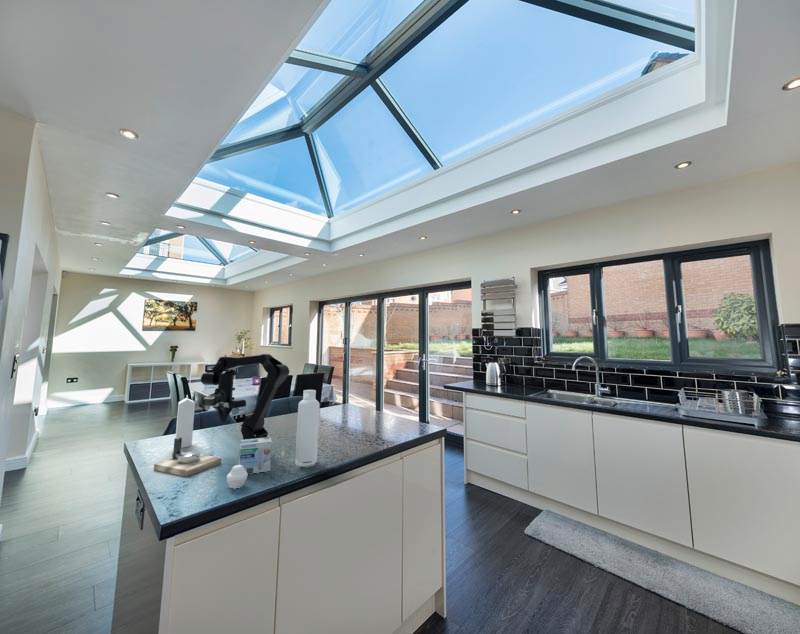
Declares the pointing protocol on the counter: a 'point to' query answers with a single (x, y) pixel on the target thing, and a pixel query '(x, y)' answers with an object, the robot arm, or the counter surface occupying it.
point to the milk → (185, 421)
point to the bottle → (307, 429)
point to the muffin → (237, 476)
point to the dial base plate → (187, 465)
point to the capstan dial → (184, 457)
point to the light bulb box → (255, 454)
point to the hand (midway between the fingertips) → (222, 422)
